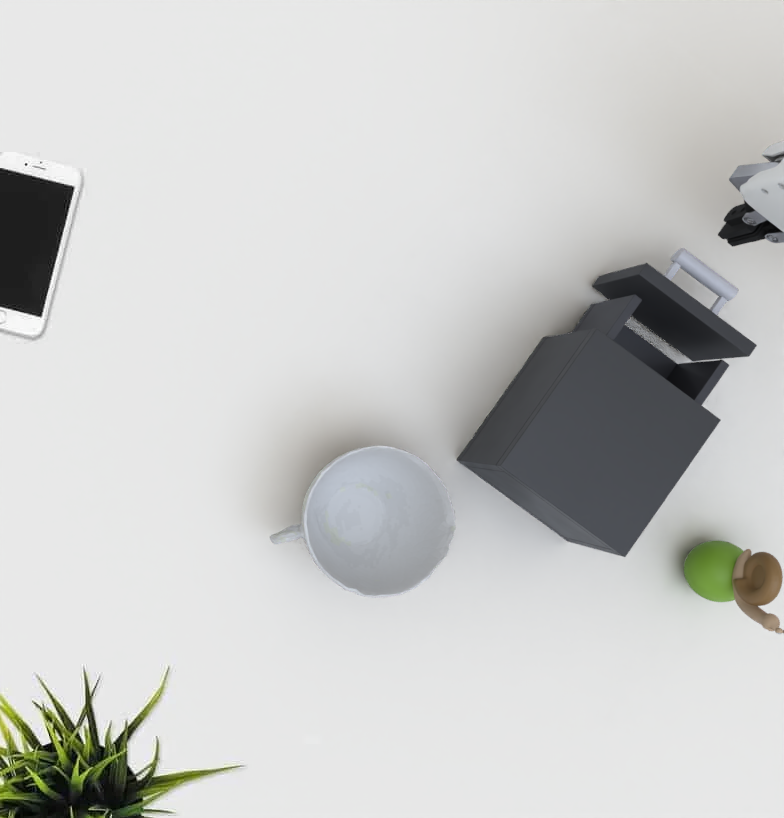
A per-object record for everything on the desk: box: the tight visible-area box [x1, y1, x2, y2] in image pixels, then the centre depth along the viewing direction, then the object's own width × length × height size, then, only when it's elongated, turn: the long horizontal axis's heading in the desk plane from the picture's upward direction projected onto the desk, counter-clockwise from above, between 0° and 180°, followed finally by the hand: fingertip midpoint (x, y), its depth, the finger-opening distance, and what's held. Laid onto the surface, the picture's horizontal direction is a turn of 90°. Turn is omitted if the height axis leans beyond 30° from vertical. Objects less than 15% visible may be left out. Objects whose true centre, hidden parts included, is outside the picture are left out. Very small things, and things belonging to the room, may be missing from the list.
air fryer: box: [456, 328, 721, 558], centre depth 86 cm, size 14×13×10 cm
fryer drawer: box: [571, 247, 757, 406], centre depth 86 cm, size 17×12×8 cm
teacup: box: [269, 445, 457, 599], centre depth 86 cm, size 15×12×8 cm
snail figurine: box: [683, 539, 784, 635], centre depth 86 cm, size 5×6×12 cm
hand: (734, 226), depth 86 cm, fingers closed
